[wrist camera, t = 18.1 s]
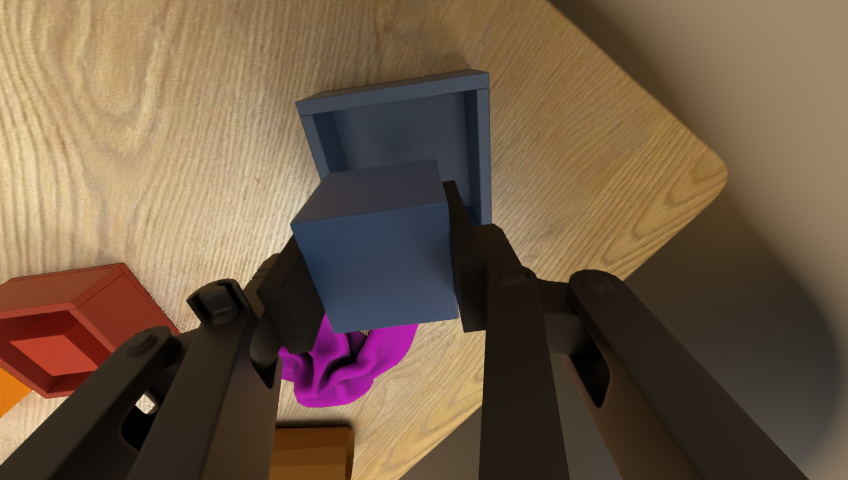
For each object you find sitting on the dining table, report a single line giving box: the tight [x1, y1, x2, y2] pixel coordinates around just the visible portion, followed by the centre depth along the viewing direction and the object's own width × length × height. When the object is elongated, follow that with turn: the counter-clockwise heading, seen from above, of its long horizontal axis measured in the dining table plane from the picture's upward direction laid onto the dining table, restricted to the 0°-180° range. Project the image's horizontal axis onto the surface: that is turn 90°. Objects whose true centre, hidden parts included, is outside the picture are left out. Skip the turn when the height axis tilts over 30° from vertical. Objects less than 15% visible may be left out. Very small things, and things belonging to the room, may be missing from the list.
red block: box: [10, 310, 112, 376], centre depth 30 cm, size 5×5×5 cm
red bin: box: [0, 263, 180, 399], centre depth 30 cm, size 12×12×6 cm
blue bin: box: [295, 69, 492, 226], centre depth 23 cm, size 12×12×6 cm
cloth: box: [279, 313, 418, 407], centre depth 35 cm, size 22×19×6 cm
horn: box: [269, 427, 354, 480], centre depth 43 cm, size 8×10×25 cm
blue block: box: [290, 159, 459, 334], centre depth 13 cm, size 5×5×5 cm
